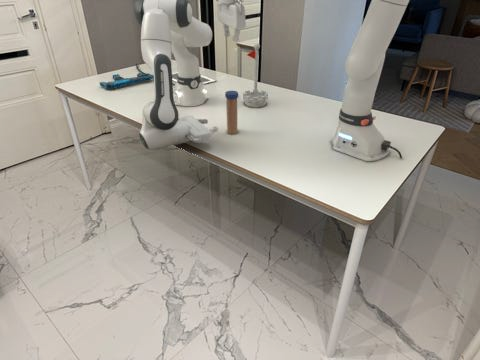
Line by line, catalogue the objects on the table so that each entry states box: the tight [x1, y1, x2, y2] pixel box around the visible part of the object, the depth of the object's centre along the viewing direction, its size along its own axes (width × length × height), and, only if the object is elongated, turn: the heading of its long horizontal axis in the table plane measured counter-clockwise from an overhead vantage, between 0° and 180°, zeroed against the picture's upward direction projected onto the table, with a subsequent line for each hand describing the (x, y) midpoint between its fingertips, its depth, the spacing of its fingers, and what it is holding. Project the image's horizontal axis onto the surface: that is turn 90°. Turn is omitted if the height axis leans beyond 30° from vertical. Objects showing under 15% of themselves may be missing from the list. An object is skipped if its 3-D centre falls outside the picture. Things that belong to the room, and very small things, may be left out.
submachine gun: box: [99, 72, 154, 90], centre depth 210 cm, size 34×4×25 cm
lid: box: [224, 90, 239, 99], centre depth 140 cm, size 5×5×2 cm
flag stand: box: [242, 42, 269, 108], centre depth 170 cm, size 13×13×30 cm
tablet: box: [172, 71, 217, 85], centre depth 215 cm, size 32×20×1 cm, turn 41°
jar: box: [225, 97, 238, 135], centre depth 144 cm, size 5×5×17 cm
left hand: (212, 124), depth 142 cm, fingers open, 8 cm apart
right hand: (231, 38), depth 128 cm, fingers open, 8 cm apart
